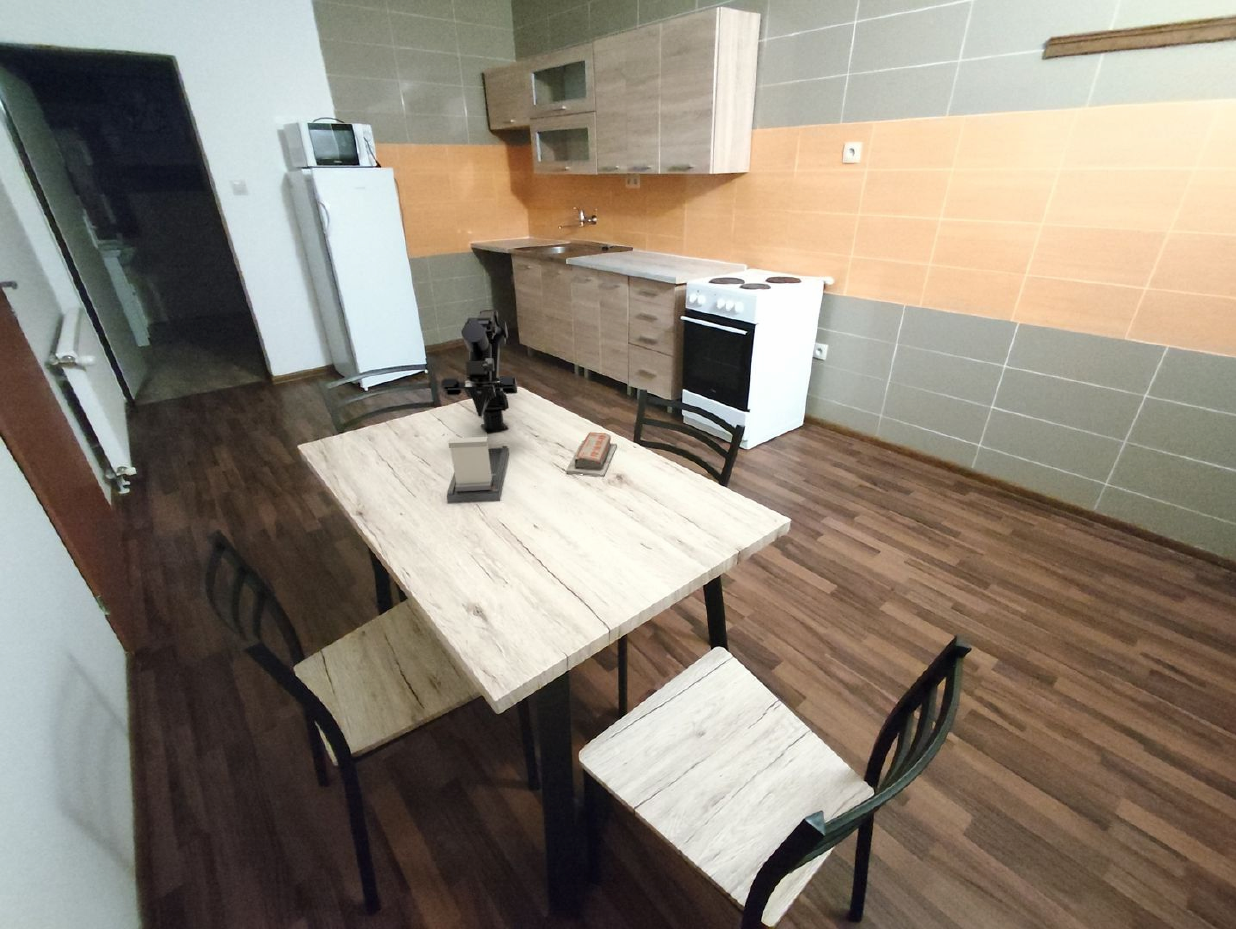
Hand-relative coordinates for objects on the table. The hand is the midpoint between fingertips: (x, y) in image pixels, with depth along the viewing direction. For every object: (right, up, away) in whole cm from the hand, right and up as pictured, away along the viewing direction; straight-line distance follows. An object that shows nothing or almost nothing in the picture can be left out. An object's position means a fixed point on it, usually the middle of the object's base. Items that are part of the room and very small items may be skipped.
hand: (480, 416), depth 145 cm
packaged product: (+29, -12, +6) cm, 32 cm away
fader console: (+1, -15, -3) cm, 16 cm away
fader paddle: (+1, -17, -11) cm, 21 cm away
